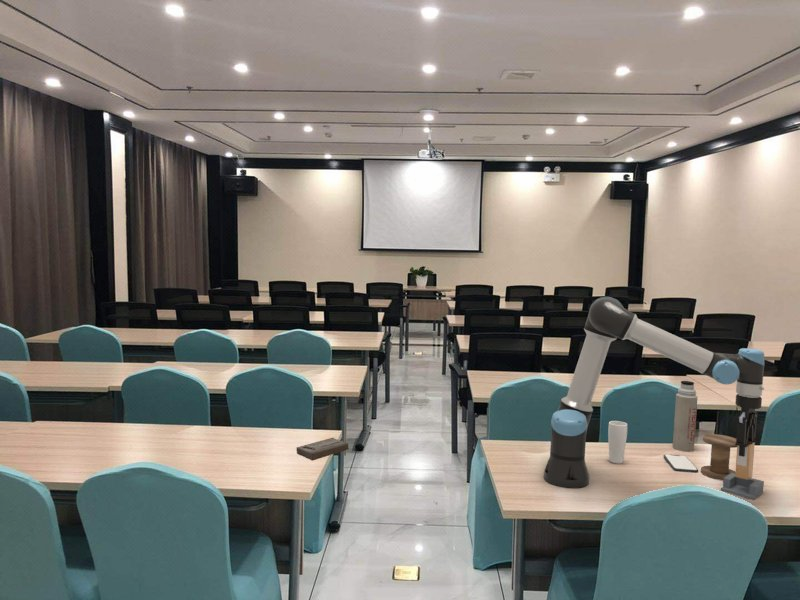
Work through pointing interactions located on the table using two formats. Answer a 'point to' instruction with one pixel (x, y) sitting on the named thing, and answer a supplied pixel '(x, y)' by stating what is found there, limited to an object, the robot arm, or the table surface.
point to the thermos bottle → (685, 417)
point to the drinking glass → (617, 441)
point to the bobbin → (719, 456)
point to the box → (322, 448)
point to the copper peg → (747, 471)
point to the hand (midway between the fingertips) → (744, 463)
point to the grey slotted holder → (742, 486)
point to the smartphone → (680, 463)
